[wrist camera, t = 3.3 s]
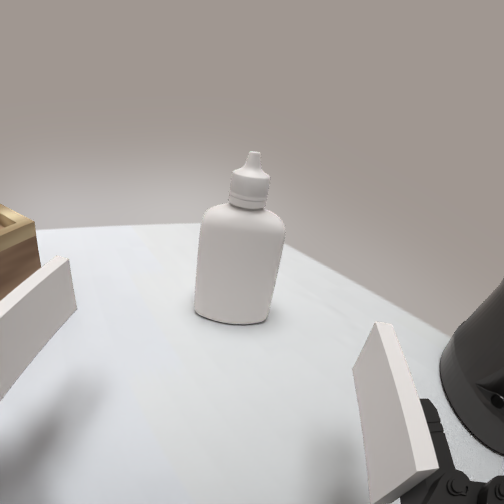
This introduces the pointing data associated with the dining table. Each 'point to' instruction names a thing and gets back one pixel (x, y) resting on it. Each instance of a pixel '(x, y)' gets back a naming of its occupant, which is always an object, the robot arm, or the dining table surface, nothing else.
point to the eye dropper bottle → (239, 251)
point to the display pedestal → (16, 250)
